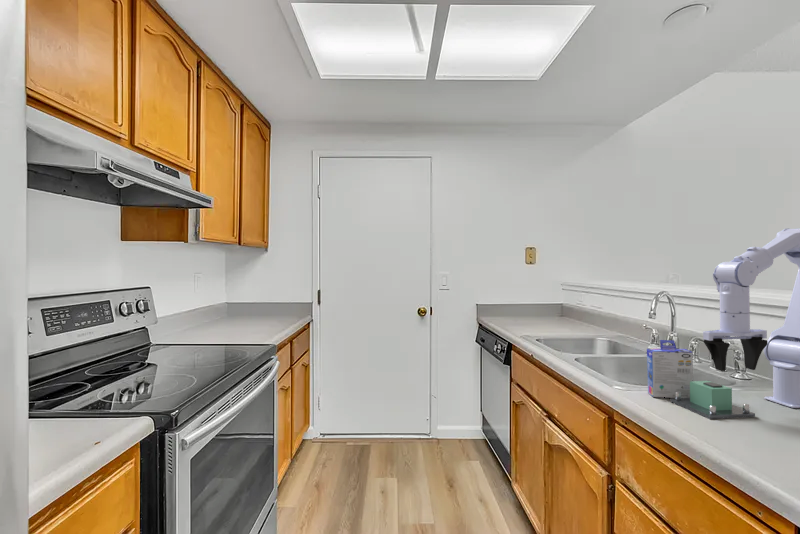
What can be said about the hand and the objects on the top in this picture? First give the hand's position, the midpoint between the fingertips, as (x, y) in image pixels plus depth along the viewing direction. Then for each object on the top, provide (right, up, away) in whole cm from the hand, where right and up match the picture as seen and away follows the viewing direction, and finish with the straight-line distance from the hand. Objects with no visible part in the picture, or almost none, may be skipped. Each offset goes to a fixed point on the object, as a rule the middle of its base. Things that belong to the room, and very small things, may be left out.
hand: (735, 369), depth 108 cm
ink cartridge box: (-8, -10, +13) cm, 18 cm away
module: (-5, -9, +2) cm, 10 cm away
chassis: (-5, -10, +2) cm, 11 cm away
